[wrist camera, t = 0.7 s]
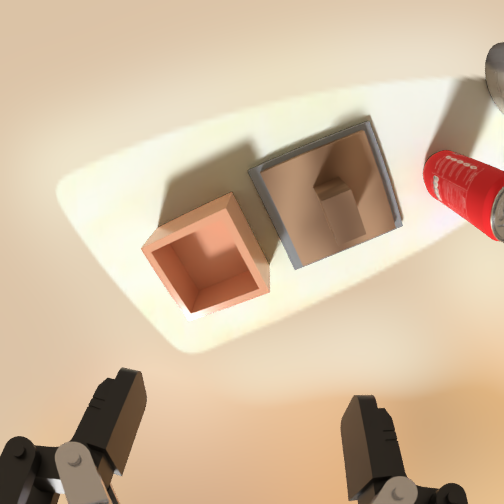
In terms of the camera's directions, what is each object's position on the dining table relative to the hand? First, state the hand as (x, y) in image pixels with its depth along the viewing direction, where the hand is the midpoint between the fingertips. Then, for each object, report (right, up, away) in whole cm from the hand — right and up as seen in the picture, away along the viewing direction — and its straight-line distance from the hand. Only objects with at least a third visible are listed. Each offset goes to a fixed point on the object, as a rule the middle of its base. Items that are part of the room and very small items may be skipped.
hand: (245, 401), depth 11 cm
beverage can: (+19, +14, +17) cm, 29 cm away
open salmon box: (-4, +6, +21) cm, 22 cm away
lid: (+8, +10, +18) cm, 22 cm away
